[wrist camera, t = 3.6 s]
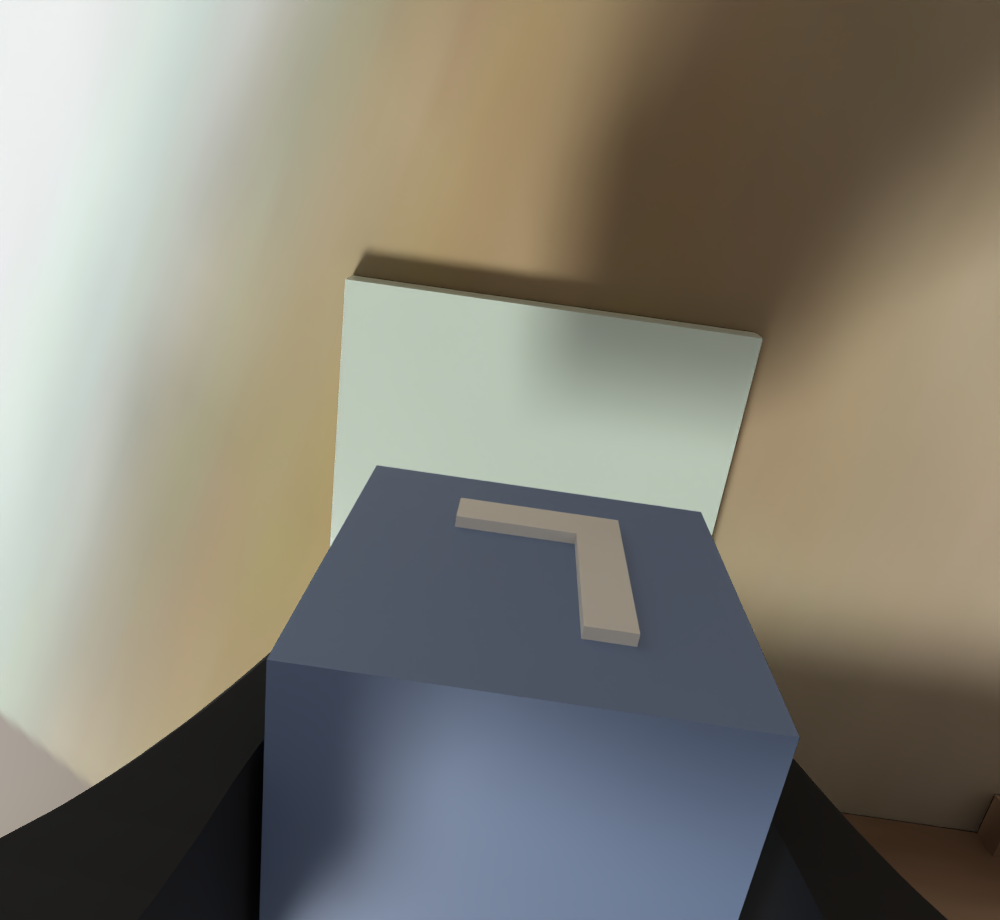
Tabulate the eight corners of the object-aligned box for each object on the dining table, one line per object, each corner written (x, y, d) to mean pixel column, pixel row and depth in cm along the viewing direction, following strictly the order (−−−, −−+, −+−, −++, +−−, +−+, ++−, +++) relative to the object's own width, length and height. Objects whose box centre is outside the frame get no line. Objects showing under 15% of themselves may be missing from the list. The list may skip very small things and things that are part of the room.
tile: (669, 669, 20) (673, 683, 20) (330, 619, 21) (325, 633, 20) (756, 332, 17) (762, 338, 17) (352, 275, 17) (345, 279, 17)
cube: (637, 768, 14) (683, 1081, 9) (355, 727, 14) (256, 1018, 9) (703, 502, 12) (804, 723, 7) (376, 455, 12) (267, 645, 7)
